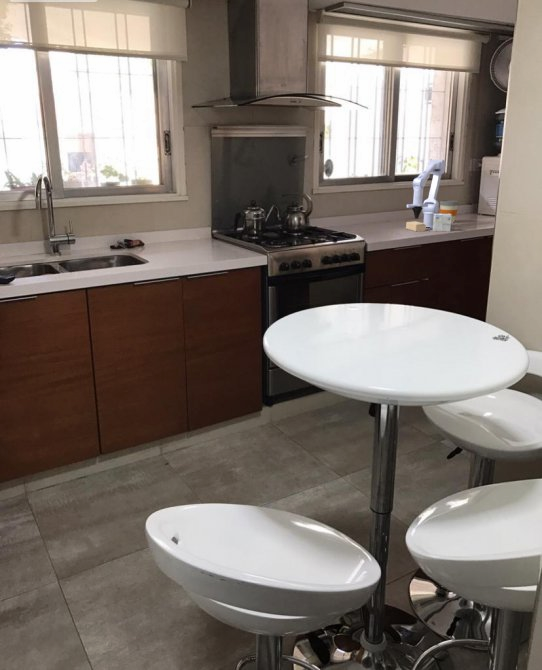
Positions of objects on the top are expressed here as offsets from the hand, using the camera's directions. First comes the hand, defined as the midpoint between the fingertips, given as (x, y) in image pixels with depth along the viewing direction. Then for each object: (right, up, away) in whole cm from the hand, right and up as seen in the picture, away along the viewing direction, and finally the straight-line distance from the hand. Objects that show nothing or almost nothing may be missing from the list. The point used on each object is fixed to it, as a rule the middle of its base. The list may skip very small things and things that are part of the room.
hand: (416, 218), depth 386 cm
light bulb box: (+16, -8, 0) cm, 18 cm away
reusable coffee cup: (+31, +5, +38) cm, 50 cm away
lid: (0, -3, +1) cm, 3 cm away
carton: (0, -7, +2) cm, 7 cm away
